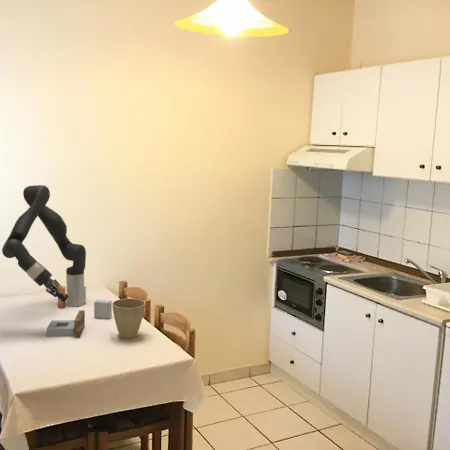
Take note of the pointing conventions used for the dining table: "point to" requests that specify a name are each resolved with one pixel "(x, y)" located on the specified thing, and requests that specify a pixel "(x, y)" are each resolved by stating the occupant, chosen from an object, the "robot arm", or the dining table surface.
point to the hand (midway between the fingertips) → (66, 299)
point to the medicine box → (103, 309)
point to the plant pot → (128, 316)
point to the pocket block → (60, 328)
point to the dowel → (60, 303)
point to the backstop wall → (79, 323)
